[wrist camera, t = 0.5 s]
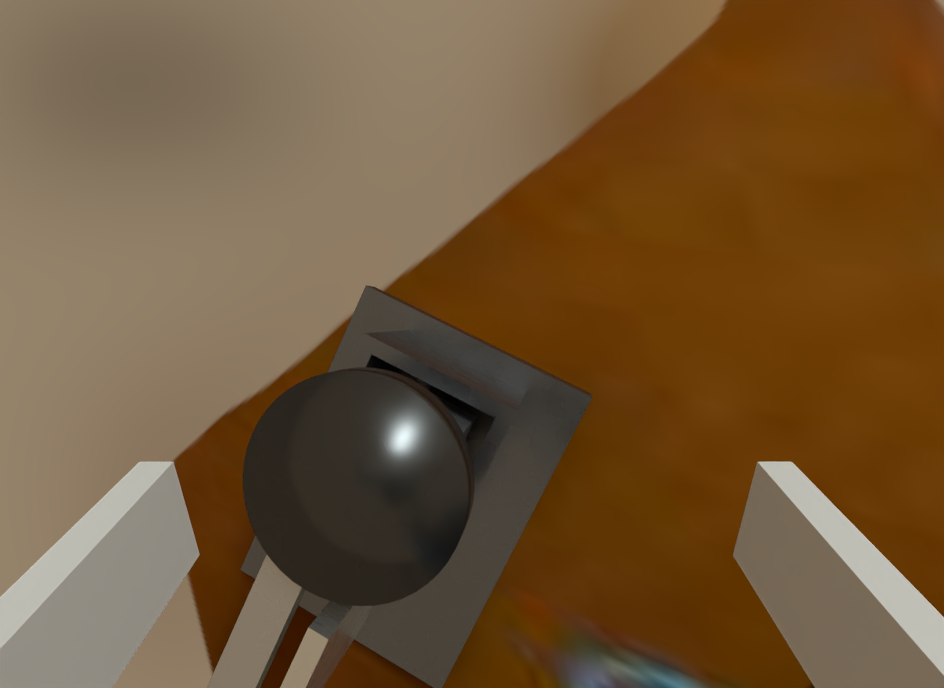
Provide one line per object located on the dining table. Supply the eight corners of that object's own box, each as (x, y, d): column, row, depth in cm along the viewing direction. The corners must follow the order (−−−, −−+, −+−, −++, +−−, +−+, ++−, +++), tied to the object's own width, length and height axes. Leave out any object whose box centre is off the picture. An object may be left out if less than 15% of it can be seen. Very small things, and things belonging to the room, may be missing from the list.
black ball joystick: (526, 400, 26) (509, 441, 18) (395, 662, 28) (322, 816, 20) (380, 327, 28) (296, 330, 19) (265, 583, 30) (140, 694, 21)
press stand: (590, 393, 32) (612, 446, 18) (445, 675, 34) (373, 900, 21) (374, 286, 34) (254, 265, 21) (253, 559, 36) (77, 697, 23)
